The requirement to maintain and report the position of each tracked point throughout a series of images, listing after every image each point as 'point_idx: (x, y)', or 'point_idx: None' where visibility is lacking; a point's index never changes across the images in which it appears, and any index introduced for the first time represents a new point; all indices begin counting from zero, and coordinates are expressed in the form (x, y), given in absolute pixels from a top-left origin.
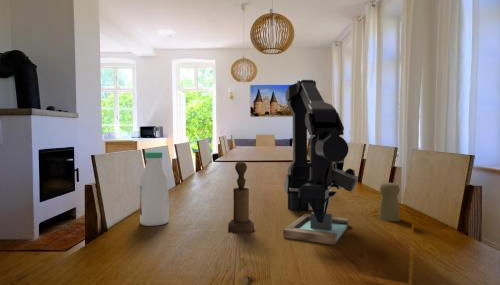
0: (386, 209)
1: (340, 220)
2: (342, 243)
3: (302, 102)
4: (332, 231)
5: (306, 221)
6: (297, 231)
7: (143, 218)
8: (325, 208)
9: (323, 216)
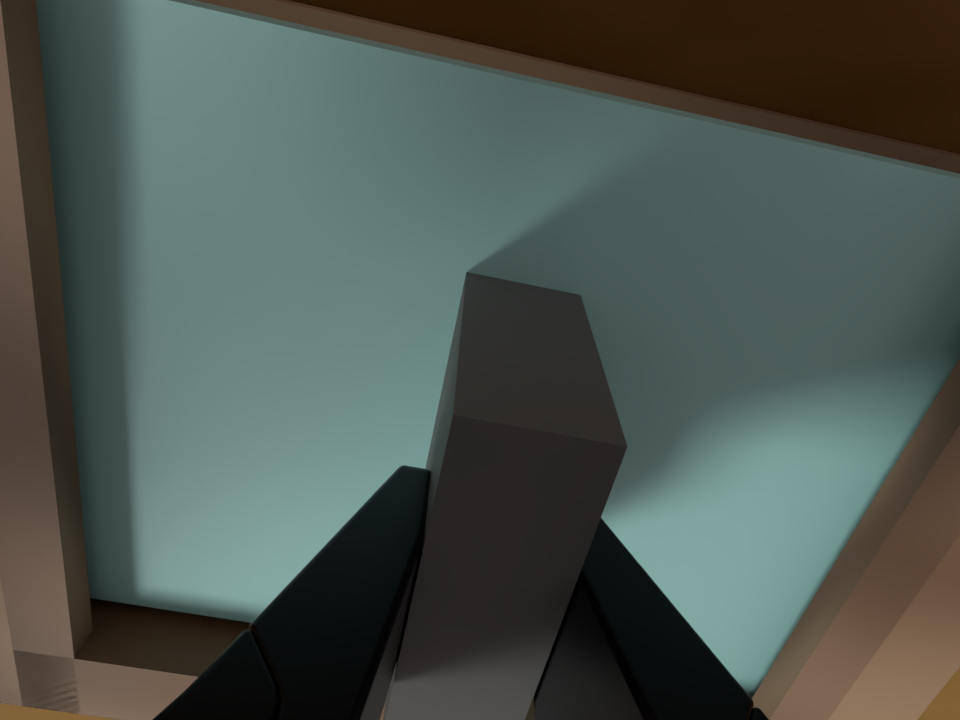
0: None
1: (17, 124)
2: (876, 66)
3: None
4: (641, 262)
5: (160, 613)
6: (922, 708)
7: None
8: (385, 658)
9: (597, 560)
